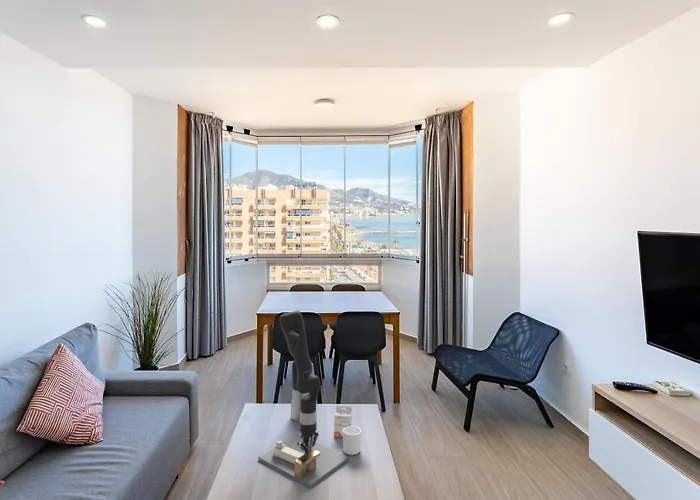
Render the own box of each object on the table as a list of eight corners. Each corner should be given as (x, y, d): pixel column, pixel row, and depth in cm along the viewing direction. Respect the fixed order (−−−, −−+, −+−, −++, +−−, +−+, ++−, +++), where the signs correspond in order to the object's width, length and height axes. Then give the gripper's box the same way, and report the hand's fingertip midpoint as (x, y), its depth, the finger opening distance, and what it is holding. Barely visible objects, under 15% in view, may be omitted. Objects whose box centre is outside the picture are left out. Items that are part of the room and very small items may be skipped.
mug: (359, 457, 191) (359, 436, 191) (340, 455, 193) (341, 433, 192) (363, 445, 202) (363, 425, 201) (345, 443, 204) (345, 423, 203)
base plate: (258, 460, 187) (258, 457, 187) (298, 437, 208) (298, 434, 208) (310, 488, 168) (310, 484, 168) (348, 460, 189) (348, 457, 188)
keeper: (294, 478, 174) (294, 460, 173) (312, 466, 183) (313, 449, 183) (301, 482, 171) (301, 463, 171) (319, 469, 181) (319, 452, 180)
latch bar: (270, 455, 188) (270, 443, 188) (278, 449, 193) (278, 438, 192) (309, 471, 176) (309, 459, 175) (317, 465, 180) (317, 453, 180)
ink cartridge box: (333, 437, 209) (334, 409, 208) (335, 432, 214) (335, 405, 213) (350, 438, 208) (351, 410, 207) (351, 433, 213) (352, 406, 212)
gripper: (310, 412, 191) (310, 448, 192) (292, 423, 180) (292, 461, 181) (323, 416, 187) (323, 453, 188) (305, 428, 176) (305, 467, 177)
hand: (308, 457), depth 185 cm, fingers closed
